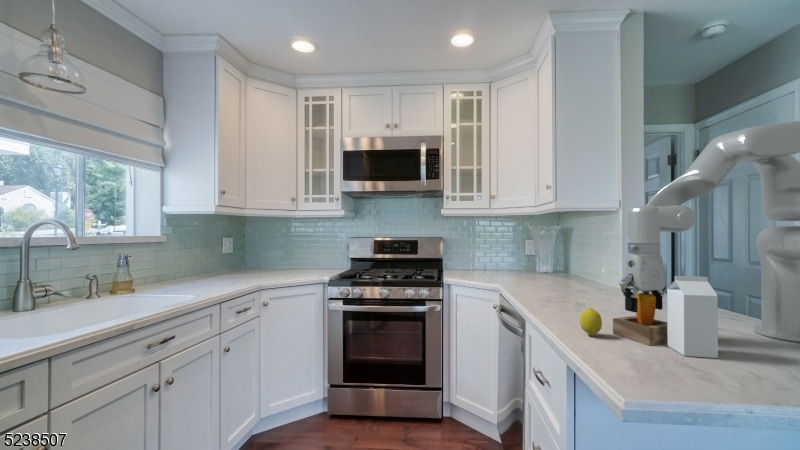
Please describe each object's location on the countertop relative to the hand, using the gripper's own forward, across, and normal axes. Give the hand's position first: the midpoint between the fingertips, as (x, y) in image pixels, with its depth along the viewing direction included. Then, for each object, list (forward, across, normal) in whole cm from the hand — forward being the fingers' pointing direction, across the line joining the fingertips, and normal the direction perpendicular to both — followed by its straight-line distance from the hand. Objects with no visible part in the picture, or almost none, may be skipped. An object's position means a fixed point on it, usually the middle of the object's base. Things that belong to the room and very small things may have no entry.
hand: (643, 309), depth 97 cm
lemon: (+8, -13, +6) cm, 16 cm away
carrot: (+7, 0, 0) cm, 7 cm away
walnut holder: (+8, 0, 0) cm, 8 cm away
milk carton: (+8, 0, -12) cm, 14 cm away
